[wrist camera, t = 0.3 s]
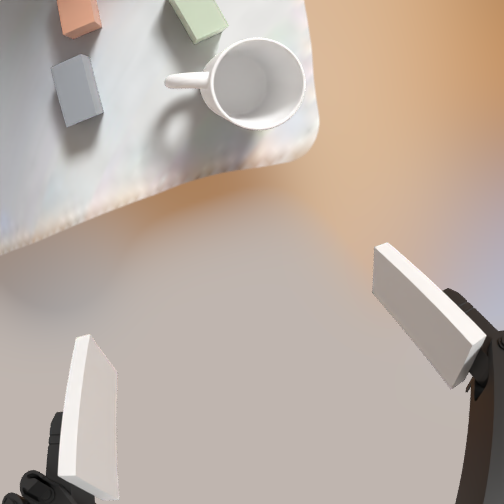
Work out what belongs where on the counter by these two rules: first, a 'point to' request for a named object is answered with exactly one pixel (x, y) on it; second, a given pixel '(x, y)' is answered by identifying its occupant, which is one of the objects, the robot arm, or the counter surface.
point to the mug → (249, 83)
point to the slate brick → (77, 89)
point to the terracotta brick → (78, 17)
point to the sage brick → (199, 18)
